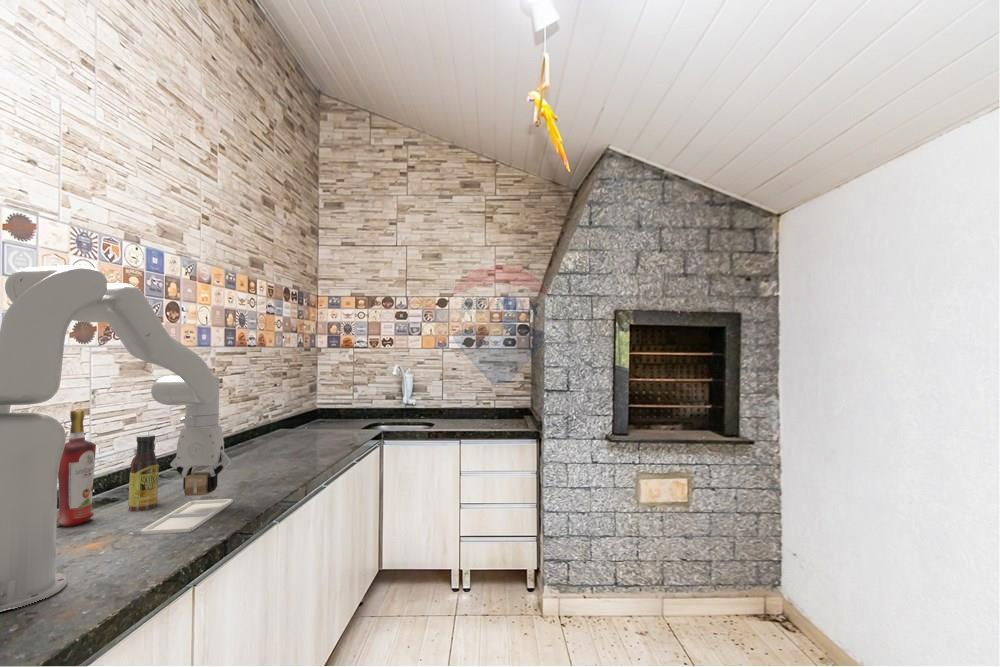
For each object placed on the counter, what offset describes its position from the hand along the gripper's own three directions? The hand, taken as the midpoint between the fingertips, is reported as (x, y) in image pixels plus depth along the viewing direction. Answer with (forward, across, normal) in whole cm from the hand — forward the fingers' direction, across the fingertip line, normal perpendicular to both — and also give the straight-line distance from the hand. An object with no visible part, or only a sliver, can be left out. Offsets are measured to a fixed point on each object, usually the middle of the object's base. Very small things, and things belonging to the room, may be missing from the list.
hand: (200, 490), depth 124 cm
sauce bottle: (+6, -17, +5) cm, 19 cm away
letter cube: (+1, 0, 0) cm, 1 cm away
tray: (+6, 0, -5) cm, 8 cm away
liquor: (+6, -28, -3) cm, 29 cm away
